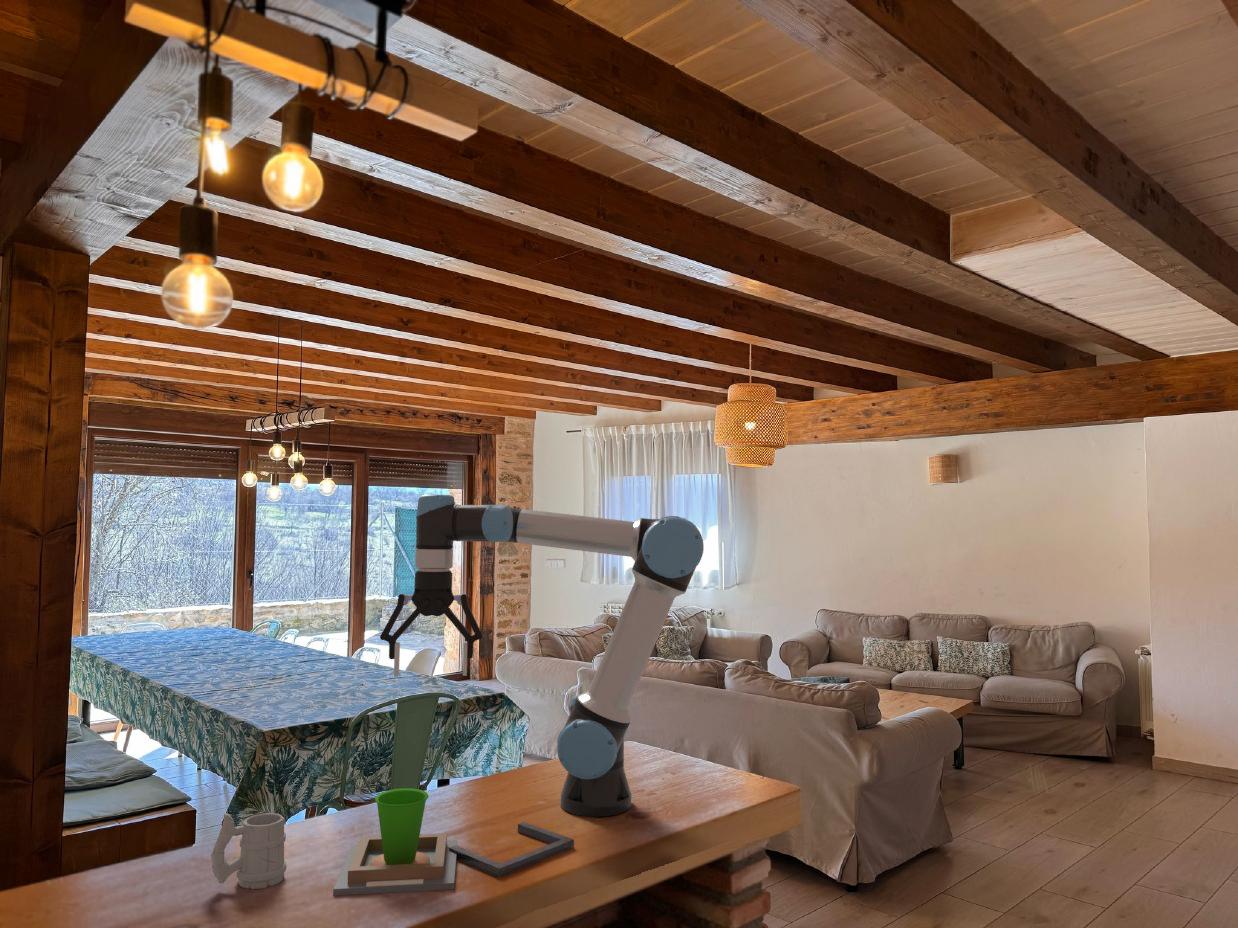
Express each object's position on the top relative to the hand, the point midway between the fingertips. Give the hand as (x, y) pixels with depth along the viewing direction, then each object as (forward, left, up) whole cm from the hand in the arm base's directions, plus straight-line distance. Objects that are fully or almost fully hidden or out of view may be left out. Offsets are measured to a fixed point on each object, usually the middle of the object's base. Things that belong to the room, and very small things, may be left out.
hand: (430, 675), depth 173 cm
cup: (+3, +24, -28) cm, 37 cm away
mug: (+27, +27, -29) cm, 48 cm away
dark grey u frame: (-16, +19, -29) cm, 38 cm away
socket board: (+3, +24, -29) cm, 38 cm away
